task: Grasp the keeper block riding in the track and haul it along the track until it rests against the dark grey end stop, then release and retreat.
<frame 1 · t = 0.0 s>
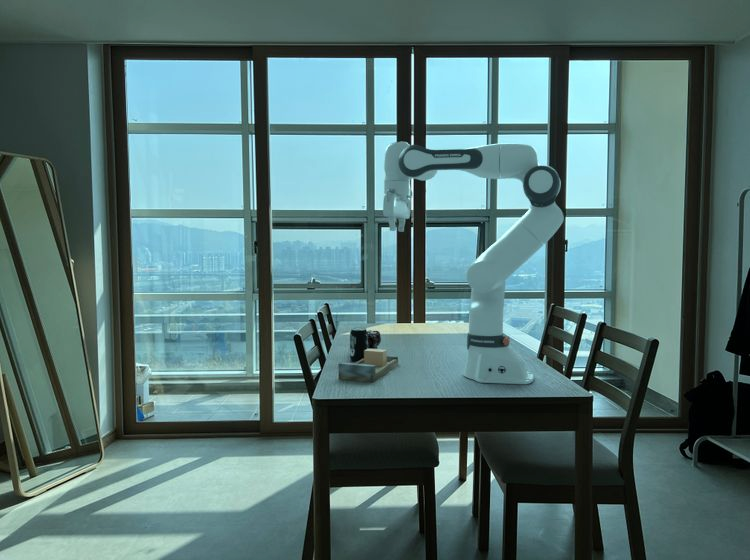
hand: (396, 231, 179), 48 cm above the table, fingers open, 8 cm apart
beverage can: (358, 360, 195), on the table
figurine: (365, 354, 207), on the table
keeper: (375, 357, 183), point 4 cm above the table, slide at -5.5 cm
track: (370, 371, 178), on the table
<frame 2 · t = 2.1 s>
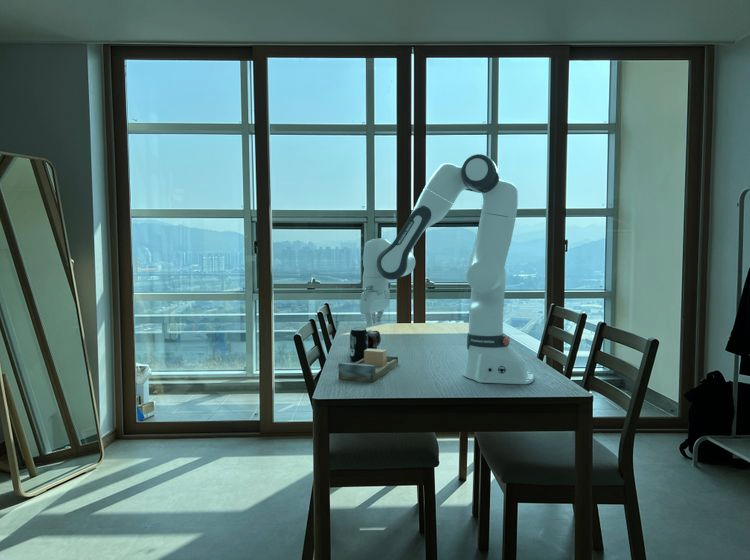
hand: (374, 324, 182), 15 cm above the table, fingers open, 8 cm apart
nothing on the table moved.
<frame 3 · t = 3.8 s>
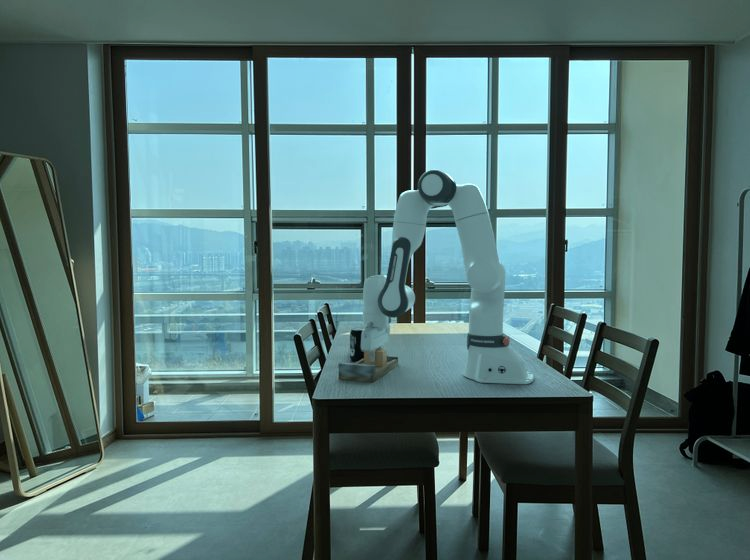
hand: (375, 359, 183), 3 cm above the table, fingers closed on keeper, 4 cm apart
keeper: (375, 357, 183), point 4 cm above the table, slide at -5.5 cm, touching gripper
everything else where it was.
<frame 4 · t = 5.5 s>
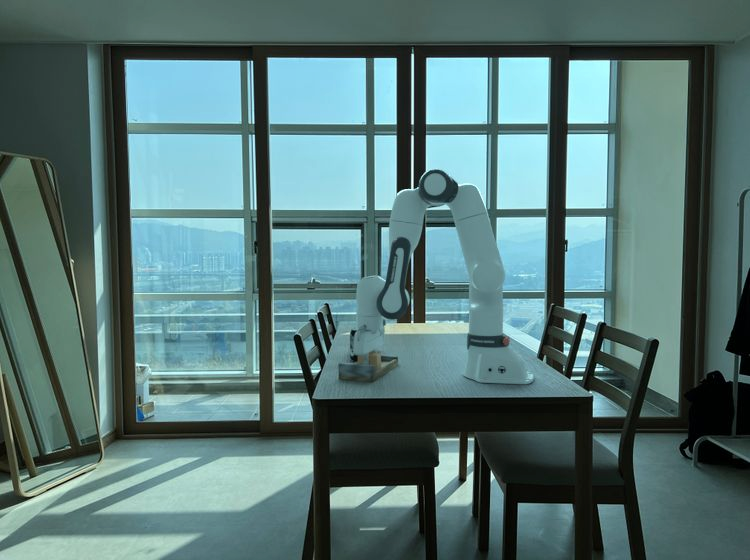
hand: (369, 363, 177), 3 cm above the table, fingers closed on keeper, 4 cm apart
keeper: (369, 360, 177), point 4 cm above the table, slide at 0.6 cm, touching gripper
everything else where it was.
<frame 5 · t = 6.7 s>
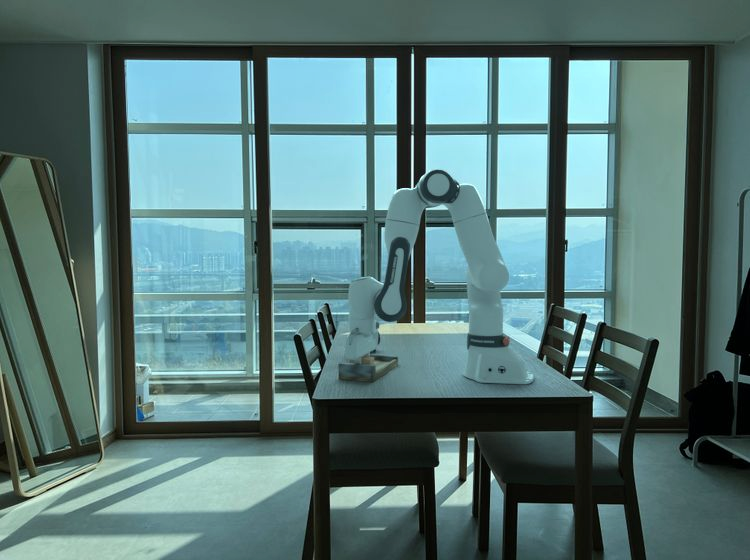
hand: (362, 367, 171), 3 cm above the table, fingers closed on keeper, 4 cm apart
keeper: (362, 365, 171), point 4 cm above the table, slide at 7.3 cm, touching gripper
everything else where it was.
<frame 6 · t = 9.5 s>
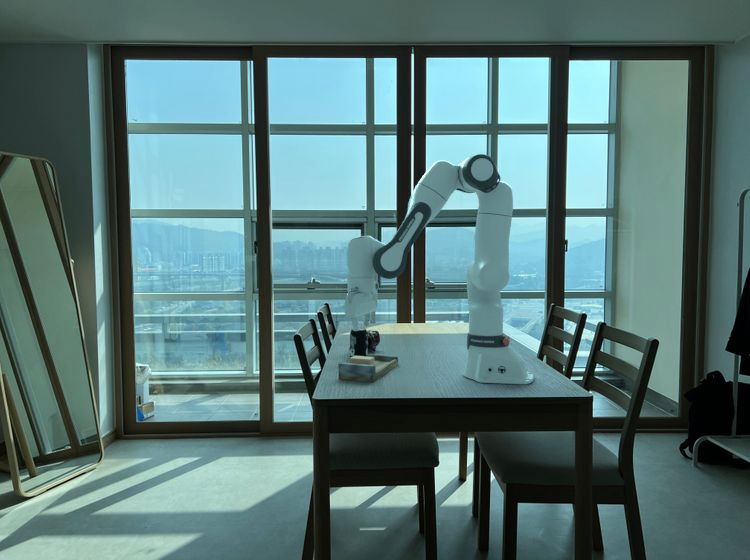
hand: (361, 328, 169), 16 cm above the table, fingers open, 8 cm apart
keeper: (362, 365, 171), point 4 cm above the table, slide at 7.3 cm
everything else where it was.
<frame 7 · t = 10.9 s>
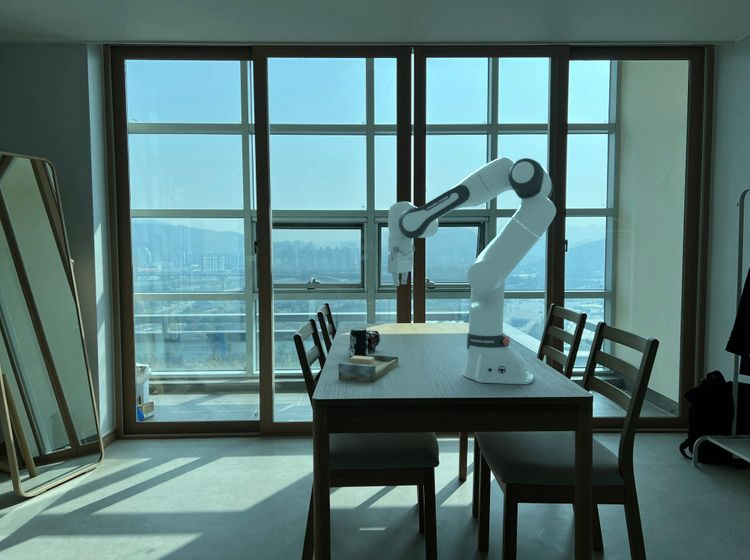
hand: (400, 285, 189), 29 cm above the table, fingers open, 8 cm apart
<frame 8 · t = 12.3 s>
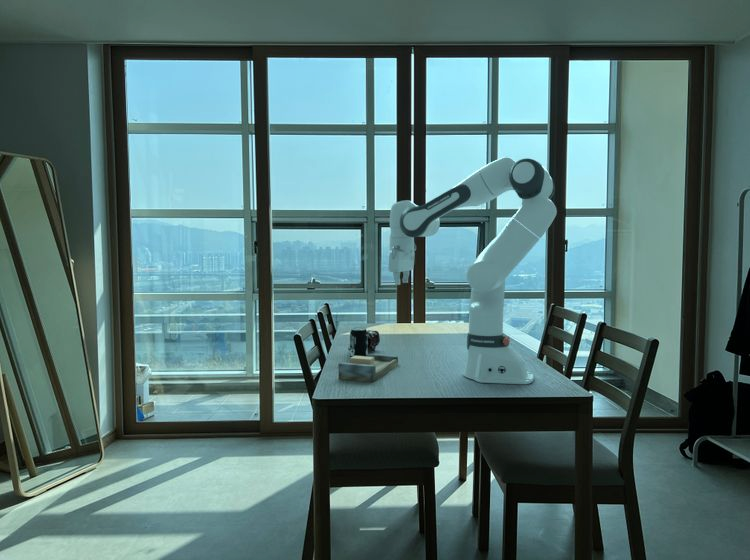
hand: (401, 283, 190), 29 cm above the table, fingers open, 8 cm apart
at the end: keeper slide at 7.3 cm; the gripper is holding nothing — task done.
